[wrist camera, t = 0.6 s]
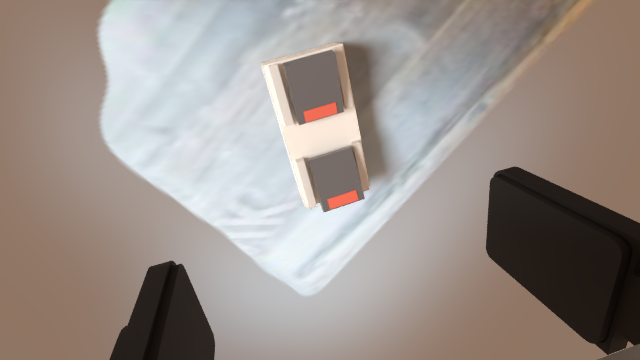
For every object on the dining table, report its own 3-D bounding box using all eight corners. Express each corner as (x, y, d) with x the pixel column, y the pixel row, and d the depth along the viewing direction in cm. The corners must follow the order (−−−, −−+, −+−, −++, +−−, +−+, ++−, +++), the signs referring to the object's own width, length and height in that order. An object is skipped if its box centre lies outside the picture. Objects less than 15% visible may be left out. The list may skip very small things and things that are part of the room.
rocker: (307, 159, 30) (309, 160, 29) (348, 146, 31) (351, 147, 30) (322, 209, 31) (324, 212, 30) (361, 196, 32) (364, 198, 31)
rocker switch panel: (260, 62, 29) (263, 66, 26) (333, 42, 30) (345, 43, 27) (299, 194, 35) (306, 211, 32) (359, 174, 36) (372, 189, 33)
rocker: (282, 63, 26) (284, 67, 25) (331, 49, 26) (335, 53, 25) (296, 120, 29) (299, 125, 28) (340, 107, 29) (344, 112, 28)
